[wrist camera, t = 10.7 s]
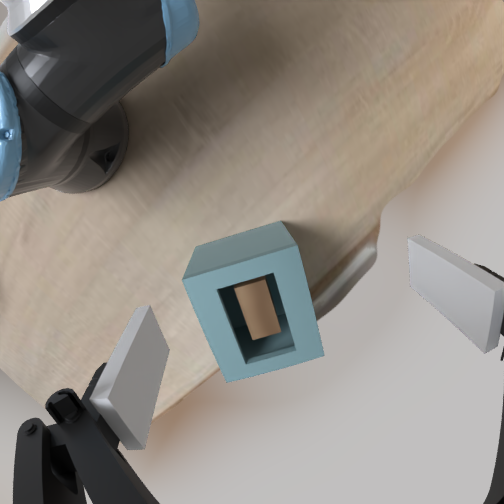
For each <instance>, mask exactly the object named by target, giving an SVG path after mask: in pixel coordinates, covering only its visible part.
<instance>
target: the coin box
mask: <svg viewBox="0 0 504 504" xmlns="http://www.w3.org/2000/svg"><path fill="white" fill-rule="evenodd" d="M264 275H266V278H267V281H268V285H269V288H270V291H271V294H272V298H273V301H274V305H275V309H276V313H277V317H278V321H279V325H280V328H281V332H280V333H276V334H273V335H269V336H266V337H262V338H259V339H255V340H252V337H251V334H250V331H249V329H248V326H247V323H246V320H245V318H244V315H243V312H242V309H241V306H240V304H239V301H238V298H237V295H236V292H235V290H234V284H237V283H240V282H244V281H247V280H250V279H254V278H257V277H260V276H264ZM182 281H183V284H184V286H185V289H186V291H187V294H188V296H189V299H190V301H191V304H192V306H193V308H194V311H195V313H196V315H197V318H198V320H199V322H200V325H201V327H202V329H203V332H204V334H205V336H206V339H207V341H208V343H209V345H210V348H211V350H212V352H213V354H214V356H215V359H216V361H217V363H218V365H219V367H220V370H221V372H222V374H223V376H224V378H225V380H226V382H232V381H236V380H240V379H244V378H248V377H252V376H256V375H260V374H264V373H267V372H271V371H275V370H279V369H282V368H286V367H289V366H293V365H296V364H299V363H303V362H306V361H309V360H312V359H315V358H319V357H322V356H324V351H323V347H322V342H321V338H320V334H319V329H318V325H317V321H316V317H315V312H314V308H313V304H312V300H311V296H310V292H309V288H308V284H307V280H306V276H305V272H304V268H303V264H302V260H301V256H300V252H299V249H298V245H297V244H296V242H295V241H294V239H293V238H292V236H291V235H290V233H289V232H288V231H287V229H286V228H285V226H284V225H283V223H282V222H281V221H278V222H275V223H272V224H268V225H265V226H262V227H258V228H255V229H252V230H249V231H245V232H242V233H239V234H235V235H232V236H229V237H226V238H222V239H219V240H216V241H213V242H210V243H206V244H203V245H200V246H197V247H195V250H194V252H193V255H192V257H191V259H190V262H189V264H188V267H187V269H186V271H185V274H184V276H183V279H182Z"/></svg>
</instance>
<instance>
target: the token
mask: <svg viewBox="0 0 504 504" xmlns="http://www.w3.org/2000/svg"><path fill="white" fill-rule="evenodd" d="M234 290H235V292H236V295H237V298H238V301H239V304H240V306H241V309H242V312H243V315H244V318H245V320H246V323H247V326H248V329H249V331H250V334H251V337H252V340H255V339H259V338H262V337H266V336H269V335H273V334H276V333H280V332H281V328H280V325H279V321H278V317H277V313H276V309H275V305H274V301H273V298H272V294H271V291H270V288H269V285H268V281H267V278H266V275H264V276H260V277H257V278H254V279H250V280H247V281H244V282H240V283H237V284H234Z"/></svg>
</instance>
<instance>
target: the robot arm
mask: <svg viewBox="0 0 504 504" xmlns="http://www.w3.org/2000/svg"><path fill="white" fill-rule="evenodd" d="M0 2H2V3H3V4H4V5H5V6H6V7H7V9H8V24H7V34H9V35H10V36H11V37H12V38H13V39H15V40H16V41H17V42H18V43H19V44H18V45H17V46H16V47H15V48H14V49H13V51H12V52H11V53H10V54H9V55H8V56H7V58H6V59H5V60H4V61H3V63H2V64H1V65H0V201H3V200H5V199H6V198H8V197H12V196H15V195H19V194H22V193H26V192H30V191H34V190H38V189H42V188H46V187H51V188H53V189H56V190H58V191H60V192H64V193H73V194H74V193H82V192H86V191H89V190H92V189H95V188H97V187H99V186H101V185H102V184H104V183H105V182H106V181H107V180H108V179H110V178H111V176H112V175H113V174H114V173H115V172H116V170H117V169H118V167H119V166H120V164H121V162H122V160H123V158H124V155H125V152H126V149H127V144H128V135H129V130H128V122H127V117H126V114H125V112H124V110H123V108H122V106H121V104H120V103H119V102H118V101H119V100H120V99H121V98H122V97H124V96H125V95H126V94H127V93H128V92H129V91H131V90H132V89H133V88H134V87H135V86H137V85H138V84H139V83H140V82H141V81H143V80H144V79H145V78H146V77H148V76H149V75H150V74H151V73H153V72H154V71H155V70H157V69H158V68H159V67H160V68H163V67H164V66H166V65H167V64H168V62H169V61H170V59H171V58H172V57H174V56H175V55H176V54H177V53H179V52H180V51H181V50H183V49H184V48H185V47H187V46H188V45H189V44H190V43H191V42H192V41H193V40H194V39H195V38H196V35H197V32H198V29H199V14H198V9H197V6H196V3H195V0H0ZM407 239H408V253H409V272H410V287H411V288H413V289H414V290H415V291H416V292H417V293H418V294H420V295H421V296H422V297H423V298H424V299H425V300H426V301H428V302H429V303H430V304H431V305H432V306H433V307H435V308H436V309H437V310H438V311H439V312H440V313H441V314H443V315H444V316H445V317H446V318H447V319H448V320H449V321H450V322H451V323H452V324H454V325H455V326H456V327H457V328H458V329H459V330H460V331H461V332H462V333H463V334H464V335H465V336H466V337H468V338H469V339H470V340H471V341H472V342H473V343H474V344H475V345H476V346H477V347H478V348H479V349H480V350H481V351H482V352H483V353H487V352H489V351H490V350H492V349H494V348H495V347H497V346H498V341H499V337H500V333H501V334H502V335H503V336H504V278H503V277H502V276H500V275H498V274H497V273H495V272H492V271H491V270H490V269H488V268H486V267H485V266H481V265H478V264H472V263H471V262H469V261H467V260H466V259H464V258H462V257H460V256H458V255H457V254H455V253H453V252H451V251H450V250H448V249H446V248H444V247H442V246H440V245H438V244H436V243H435V242H433V241H431V240H429V239H427V238H425V237H423V236H421V235H416V236H413V237H409V238H407ZM169 351H170V349H169V347H168V345H167V343H166V341H165V338H164V336H163V334H162V332H161V329H160V327H159V325H158V322H157V320H156V318H155V315H154V313H153V311H152V308H151V306H150V305H147V306H143V307H139V308H136V310H135V312H134V313H133V315H132V317H131V319H130V321H129V323H128V324H127V326H126V328H125V330H124V332H123V334H122V336H121V337H120V339H119V341H118V343H117V345H116V347H115V349H114V351H113V353H112V355H111V357H110V359H109V361H108V362H107V363H103V364H102V365H101V366H100V367H99V368H98V369H97V370H96V372H95V374H94V376H93V377H92V380H91V381H90V383H89V387H87V389H86V391H85V393H84V395H83V397H82V399H81V400H80V399H79V397H78V396H77V394H76V393H75V392H74V391H73V390H72V389H69V388H66V389H61V390H59V391H57V392H55V393H54V394H53V395H51V397H50V398H49V399H48V400H47V402H46V410H47V411H48V412H49V414H50V415H51V416H52V417H53V419H54V420H55V421H56V423H57V424H53V425H50V426H46V425H45V424H44V423H43V422H42V421H41V420H40V419H39V418H32V419H29V420H27V421H25V422H24V423H23V424H22V425H21V427H20V428H19V431H18V434H17V443H16V453H15V464H14V481H13V504H87V502H86V497H85V492H84V487H85V489H86V491H87V493H88V495H89V497H90V499H91V501H92V503H93V504H159V502H158V501H157V500H156V499H155V497H153V495H152V494H151V493H150V491H149V490H148V489H147V488H146V486H145V485H144V484H143V482H142V481H141V480H140V478H139V477H138V476H137V474H136V473H135V472H134V470H133V469H132V467H131V466H130V465H129V463H128V462H127V460H126V459H125V458H124V456H123V455H122V453H121V452H120V451H119V450H118V449H117V448H118V444H119V441H120V442H121V443H122V444H123V445H124V446H125V448H126V449H127V450H140V449H145V446H146V442H147V438H148V433H149V429H150V425H151V421H152V417H153V413H154V408H155V404H156V400H157V396H158V393H159V389H160V385H161V381H162V377H163V373H164V370H165V366H166V362H167V358H168V355H169ZM503 358H504V348H503V352H502V356H501V361H502V360H503ZM83 485H84V486H83ZM483 504H504V396H503V412H502V421H501V430H500V439H499V445H498V452H497V458H496V463H495V468H494V473H493V478H492V483H491V487H490V490H489V493H488V495H487V498H486V500H485V502H484V503H483Z"/></svg>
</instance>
